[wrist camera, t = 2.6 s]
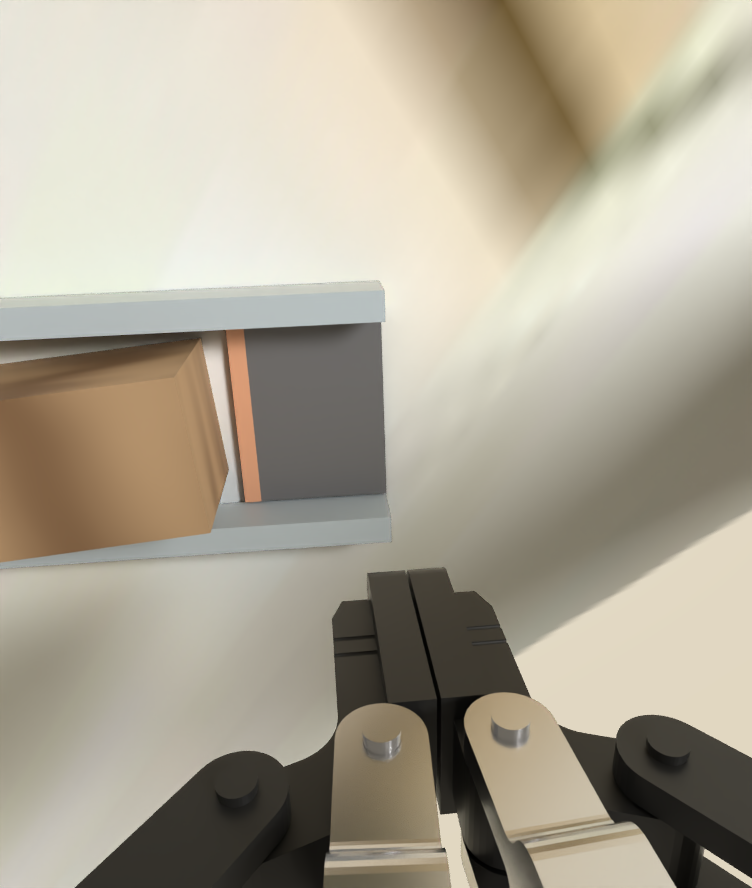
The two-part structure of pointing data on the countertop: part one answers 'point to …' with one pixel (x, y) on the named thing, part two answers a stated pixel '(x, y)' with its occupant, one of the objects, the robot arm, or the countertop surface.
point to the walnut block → (108, 450)
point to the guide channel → (262, 406)
